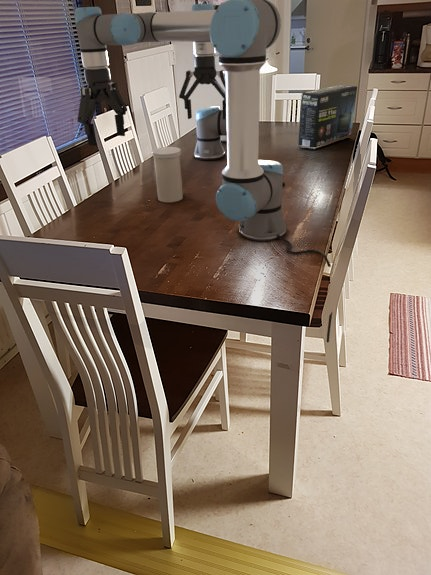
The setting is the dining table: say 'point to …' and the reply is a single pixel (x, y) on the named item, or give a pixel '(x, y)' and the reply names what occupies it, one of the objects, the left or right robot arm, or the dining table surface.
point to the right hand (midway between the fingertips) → (107, 140)
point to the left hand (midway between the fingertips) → (207, 118)
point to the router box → (326, 115)
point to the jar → (168, 179)
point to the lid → (166, 152)
